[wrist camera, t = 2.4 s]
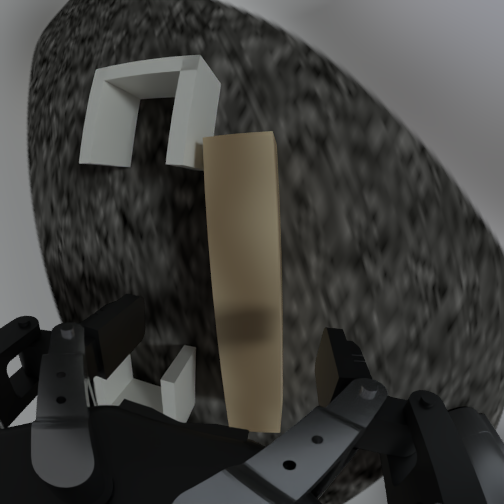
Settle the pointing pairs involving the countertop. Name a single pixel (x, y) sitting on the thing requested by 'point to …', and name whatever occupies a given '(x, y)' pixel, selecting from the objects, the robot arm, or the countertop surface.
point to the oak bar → (246, 274)
